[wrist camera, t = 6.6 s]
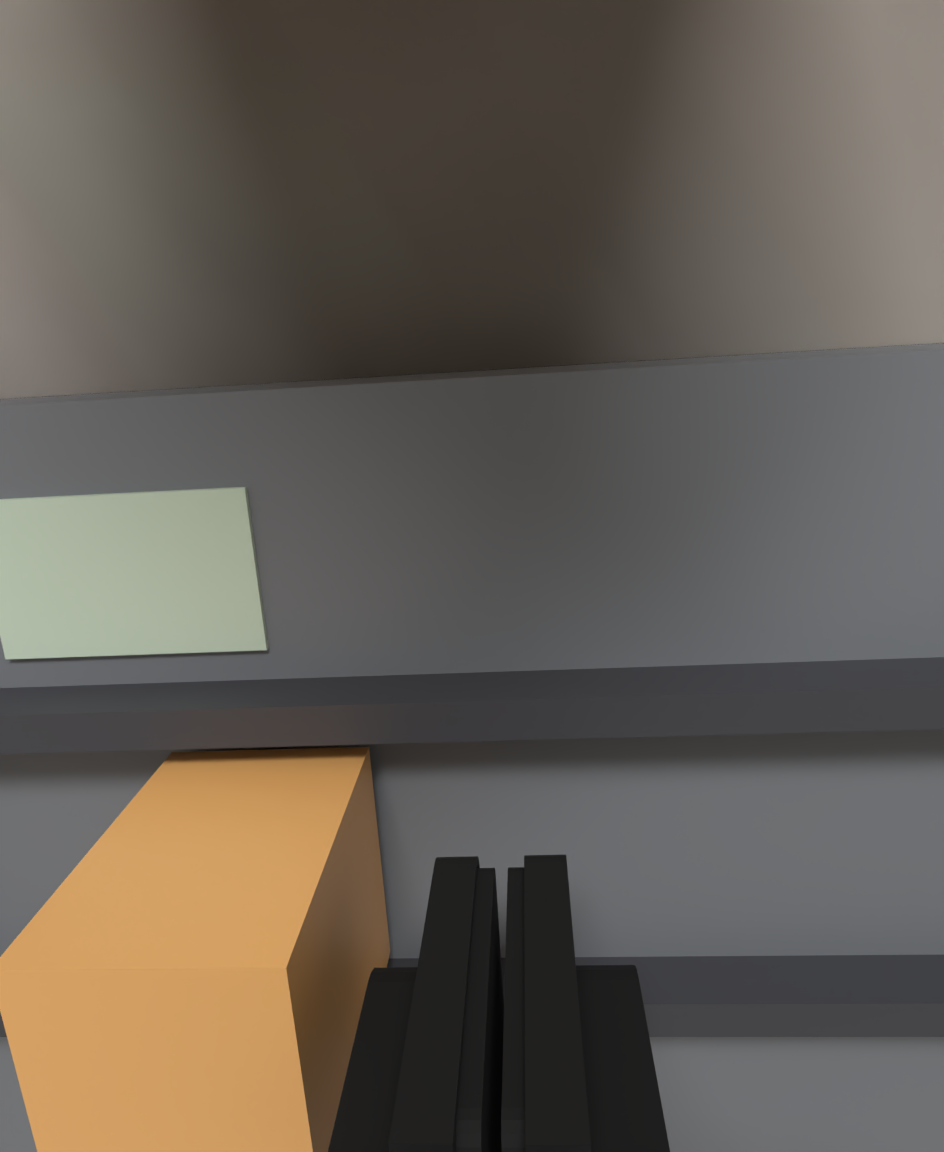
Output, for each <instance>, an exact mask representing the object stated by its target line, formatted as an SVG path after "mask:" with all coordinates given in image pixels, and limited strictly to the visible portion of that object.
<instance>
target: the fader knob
mask: <svg viewBox="0 0 944 1152" xmlns="http://www.w3.org/2000/svg"><path fill="white" fill-rule="evenodd" d="M389 955H390V943H389V933H388V923H387V914H386V904H385V895H384V885H383V875H382V866H381V856H380V847H379V837H378V827H377V818H376V808H375V799H374V789H373V780H372V770H371V760H370V751H369V747H345V748H307V749H269V750H231V751H194V752H172V753H171V754H170V755H169V756H168V757H167V759H166V760H165V761H164V762H163V763H162V765H161V766H160V767H159V768H158V769H157V771H156V772H155V773H154V774H153V775H152V776H151V778H150V779H149V780H148V781H147V782H146V784H145V785H144V786H143V787H142V788H141V790H140V791H139V792H138V793H137V794H136V796H135V797H134V798H133V799H132V800H131V802H130V803H129V804H128V805H127V806H126V808H125V809H124V810H123V811H122V812H121V813H120V815H119V816H118V817H117V818H116V819H115V821H114V822H113V823H112V824H111V825H110V827H109V828H108V829H107V830H106V831H105V833H104V834H103V835H102V836H101V837H100V839H99V840H98V841H97V842H96V843H95V844H94V846H93V847H92V848H91V849H90V850H89V852H88V853H87V854H86V855H85V856H84V858H83V859H82V860H81V861H80V862H79V864H78V865H77V866H76V867H75V868H74V870H73V871H72V872H71V873H70V874H69V875H68V877H67V878H66V879H65V880H64V881H63V883H62V884H61V885H60V886H59V887H58V889H57V890H56V891H55V892H54V893H53V895H52V896H51V897H50V898H49V899H48V901H47V902H46V903H45V904H44V905H43V907H42V908H41V909H40V910H39V911H38V912H37V914H36V915H35V916H34V917H33V918H32V920H31V921H30V922H29V923H28V924H27V926H26V927H25V928H24V929H23V930H22V932H21V933H20V934H19V935H18V936H17V938H16V939H15V940H14V941H13V942H12V943H11V945H10V946H9V947H8V948H7V949H6V951H5V952H4V953H3V954H2V955H1V957H0V1012H1V1016H2V1020H3V1023H4V1027H5V1031H6V1035H7V1039H8V1042H9V1046H10V1050H11V1054H12V1058H13V1061H14V1065H15V1069H16V1073H17V1077H18V1080H19V1084H20V1088H21V1092H22V1096H23V1099H24V1103H25V1107H26V1111H27V1115H28V1118H29V1122H30V1126H31V1130H32V1134H33V1137H34V1141H35V1145H36V1149H37V1152H328V1149H329V1145H330V1140H331V1136H332V1132H333V1128H334V1123H335V1119H336V1115H337V1111H338V1107H339V1102H340V1098H341V1094H342V1090H343V1085H344V1081H345V1077H346V1073H347V1068H348V1064H349V1060H350V1056H351V1052H352V1047H353V1043H354V1039H355V1035H356V1030H357V1026H358V1022H359V1018H360V1014H361V1009H362V1005H363V1001H364V997H365V992H366V988H367V984H368V980H369V977H370V974H371V972H372V970H373V969H374V968H387V964H388V960H389Z"/></svg>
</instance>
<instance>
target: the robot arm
mask: <svg viewBox="0 0 944 1152" xmlns="http://www.w3.org/2000/svg"><path fill="white" fill-rule="evenodd" d="M328 1152H670V1148H669V1142H668V1137H667V1131H666V1126H665V1120H664V1115H663V1109H662V1104H661V1098H660V1093H659V1087H658V1082H657V1076H656V1071H655V1065H654V1060H653V1054H652V1048H651V1043H650V1037H649V1032H648V1026H647V1021H646V1015H645V1010H644V1004H643V999H642V993H641V988H640V982H639V977H638V973H637V969H636V966H635V965H576V963H575V951H574V940H573V928H572V916H571V904H570V893H569V881H568V869H567V858H566V855H524V867H509V868H508V878H507V916H506V955H505V993H504V997H503V981H502V965H501V950H500V934H499V918H498V902H497V886H496V872H495V868H480V864H479V858H478V856H469V857H437V858H436V859H435V863H434V869H433V875H432V881H431V887H430V894H429V900H428V906H427V912H426V918H425V924H424V930H423V936H422V942H421V948H420V954H419V961H418V967H394V968H374V969H373V970H372V972H371V974H370V977H369V980H368V984H367V988H366V992H365V997H364V1001H363V1005H362V1009H361V1014H360V1018H359V1022H358V1026H357V1030H356V1035H355V1039H354V1043H353V1047H352V1052H351V1056H350V1060H349V1064H348V1068H347V1073H346V1077H345V1081H344V1085H343V1090H342V1094H341V1098H340V1102H339V1107H338V1111H337V1115H336V1119H335V1123H334V1128H333V1132H332V1136H331V1140H330V1145H329V1149H328Z"/></svg>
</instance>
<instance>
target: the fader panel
mask: <svg viewBox="0 0 944 1152" xmlns="http://www.w3.org/2000/svg"><path fill="white" fill-rule="evenodd" d="M345 747H369V751H370V760H371V770H372V780H373V789H374V799H375V808H376V818H377V827H378V837H379V847H380V856H381V866H382V875H383V885H384V895H385V904H386V914H387V923H388V933H389V943H390V955H389V960H388V964H387V968H394V967H418V961H419V954H420V948H421V942H422V936H423V930H424V924H425V918H426V912H427V906H428V900H429V894H430V887H431V881H432V875H433V869H434V863H435V859H436V858H437V857H469V856H478V858H479V864H480V868H495V872H496V886H497V902H498V918H499V934H500V950H501V965H502V981H503V997H504V993H505V955H506V916H507V878H508V868H509V867H524V855H566V858H567V869H568V881H569V893H570V904H571V916H572V928H573V940H574V951H575V963H576V965H635V966H636V969H637V973H638V977H639V982H640V988H641V993H642V999H643V1004H644V1010H645V1015H646V1021H647V1026H648V1032H649V1037H650V1043H651V1048H652V1054H653V1060H654V1065H655V1071H656V1076H657V1082H658V1087H659V1093H660V1098H661V1104H662V1109H663V1115H664V1120H665V1126H666V1131H667V1137H668V1142H669V1148H670V1152H944V343H934V344H918V345H901V346H884V347H868V348H851V349H834V350H817V351H801V352H784V353H767V354H750V355H734V356H717V357H700V358H684V359H667V360H650V361H633V362H617V363H600V364H583V365H566V366H550V367H533V368H516V369H500V370H483V371H466V372H449V373H433V374H416V375H399V376H382V377H366V378H349V379H332V380H316V381H299V382H282V383H265V384H249V385H232V386H215V387H198V388H182V389H165V390H148V391H132V392H115V393H98V394H81V395H65V396H48V397H31V398H14V399H0V957H1V955H2V954H3V953H4V952H5V951H6V949H7V948H8V947H9V946H10V945H11V943H12V942H13V941H14V940H15V939H16V938H17V936H18V935H19V934H20V933H21V932H22V930H23V929H24V928H25V927H26V926H27V924H28V923H29V922H30V921H31V920H32V918H33V917H34V916H35V915H36V914H37V912H38V911H39V910H40V909H41V908H42V907H43V905H44V904H45V903H46V902H47V901H48V899H49V898H50V897H51V896H52V895H53V893H54V892H55V891H56V890H57V889H58V887H59V886H60V885H61V884H62V883H63V881H64V880H65V879H66V878H67V877H68V875H69V874H70V873H71V872H72V871H73V870H74V868H75V867H76V866H77V865H78V864H79V862H80V861H81V860H82V859H83V858H84V856H85V855H86V854H87V853H88V852H89V850H90V849H91V848H92V847H93V846H94V844H95V843H96V842H97V841H98V840H99V839H100V837H101V836H102V835H103V834H104V833H105V831H106V830H107V829H108V828H109V827H110V825H111V824H112V823H113V822H114V821H115V819H116V818H117V817H118V816H119V815H120V813H121V812H122V811H123V810H124V809H125V808H126V806H127V805H128V804H129V803H130V802H131V800H132V799H133V798H134V797H135V796H136V794H137V793H138V792H139V791H140V790H141V788H142V787H143V786H144V785H145V784H146V782H147V781H148V780H149V779H150V778H151V776H152V775H153V774H154V773H155V772H156V771H157V769H158V768H159V767H160V766H161V765H162V763H163V762H164V761H165V760H166V759H167V757H168V756H169V755H170V754H171V753H172V752H194V751H231V750H269V749H307V748H345ZM0 1152H37V1149H36V1145H35V1141H34V1137H33V1134H32V1130H31V1126H30V1122H29V1118H28V1115H27V1111H26V1107H25V1103H24V1099H23V1096H22V1092H21V1088H20V1084H19V1080H18V1077H17V1073H16V1069H15V1065H14V1061H13V1058H12V1054H11V1050H10V1046H9V1042H8V1039H7V1035H6V1031H5V1027H4V1023H3V1020H2V1016H1V1012H0Z"/></svg>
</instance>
